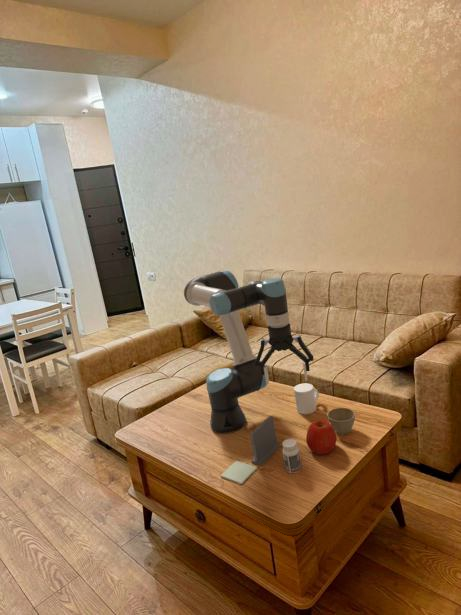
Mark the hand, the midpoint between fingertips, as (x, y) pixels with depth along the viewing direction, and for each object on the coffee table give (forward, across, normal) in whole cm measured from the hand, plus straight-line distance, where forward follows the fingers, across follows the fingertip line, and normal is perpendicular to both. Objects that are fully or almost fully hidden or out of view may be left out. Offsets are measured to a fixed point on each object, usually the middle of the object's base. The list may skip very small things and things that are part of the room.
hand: (286, 381), depth 146 cm
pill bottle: (+27, -1, -13) cm, 30 cm away
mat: (+26, -20, -14) cm, 36 cm away
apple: (+27, +10, -2) cm, 28 cm away
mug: (+27, +6, +27) cm, 39 cm away
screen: (+27, -11, -4) cm, 29 cm away
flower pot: (+27, +18, +8) cm, 33 cm away
